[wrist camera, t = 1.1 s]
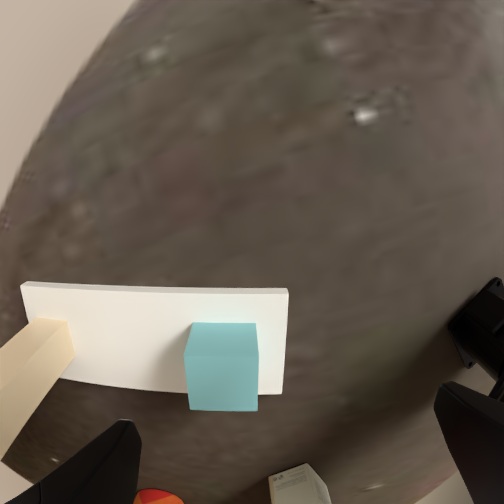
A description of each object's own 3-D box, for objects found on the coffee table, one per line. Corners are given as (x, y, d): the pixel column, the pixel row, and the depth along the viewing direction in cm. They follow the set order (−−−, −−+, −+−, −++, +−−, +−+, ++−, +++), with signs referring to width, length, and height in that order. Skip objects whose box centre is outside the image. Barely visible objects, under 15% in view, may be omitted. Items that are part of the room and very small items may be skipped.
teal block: (255, 322, 20) (259, 356, 16) (254, 373, 21) (257, 410, 18) (193, 322, 20) (183, 355, 16) (197, 372, 21) (190, 409, 17)
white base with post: (286, 288, 21) (355, 486, 6) (280, 385, 23) (311, 568, 8) (27, 281, 20) (-110, 381, 6) (49, 368, 22) (-40, 489, 8)
